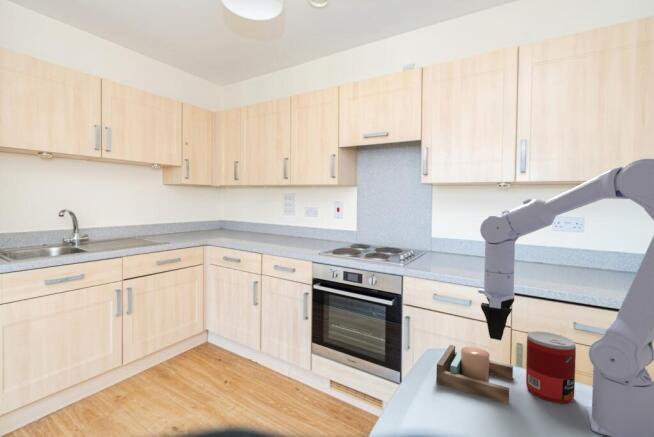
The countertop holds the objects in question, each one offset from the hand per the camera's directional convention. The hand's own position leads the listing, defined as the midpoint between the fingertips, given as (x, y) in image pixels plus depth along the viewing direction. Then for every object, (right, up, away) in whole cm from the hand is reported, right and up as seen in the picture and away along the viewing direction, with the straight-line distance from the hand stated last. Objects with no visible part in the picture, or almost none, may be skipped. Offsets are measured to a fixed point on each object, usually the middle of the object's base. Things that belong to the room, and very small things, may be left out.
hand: (497, 333), depth 71 cm
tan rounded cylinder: (-6, -9, -2) cm, 11 cm away
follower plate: (-9, -9, 0) cm, 13 cm away
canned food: (+7, -10, -6) cm, 14 cm away
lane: (-5, -9, -2) cm, 11 cm away
